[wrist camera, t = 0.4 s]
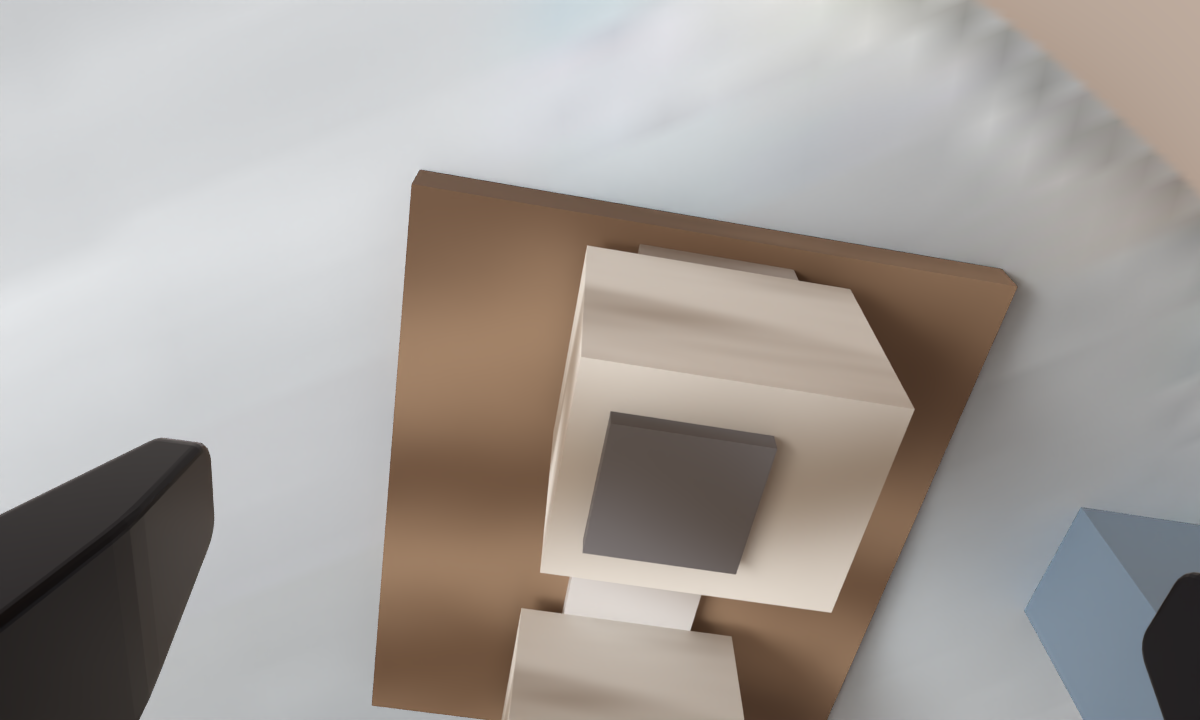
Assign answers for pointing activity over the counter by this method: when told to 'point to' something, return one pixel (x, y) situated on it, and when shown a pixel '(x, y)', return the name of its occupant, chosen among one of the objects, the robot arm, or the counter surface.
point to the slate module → (1109, 607)
